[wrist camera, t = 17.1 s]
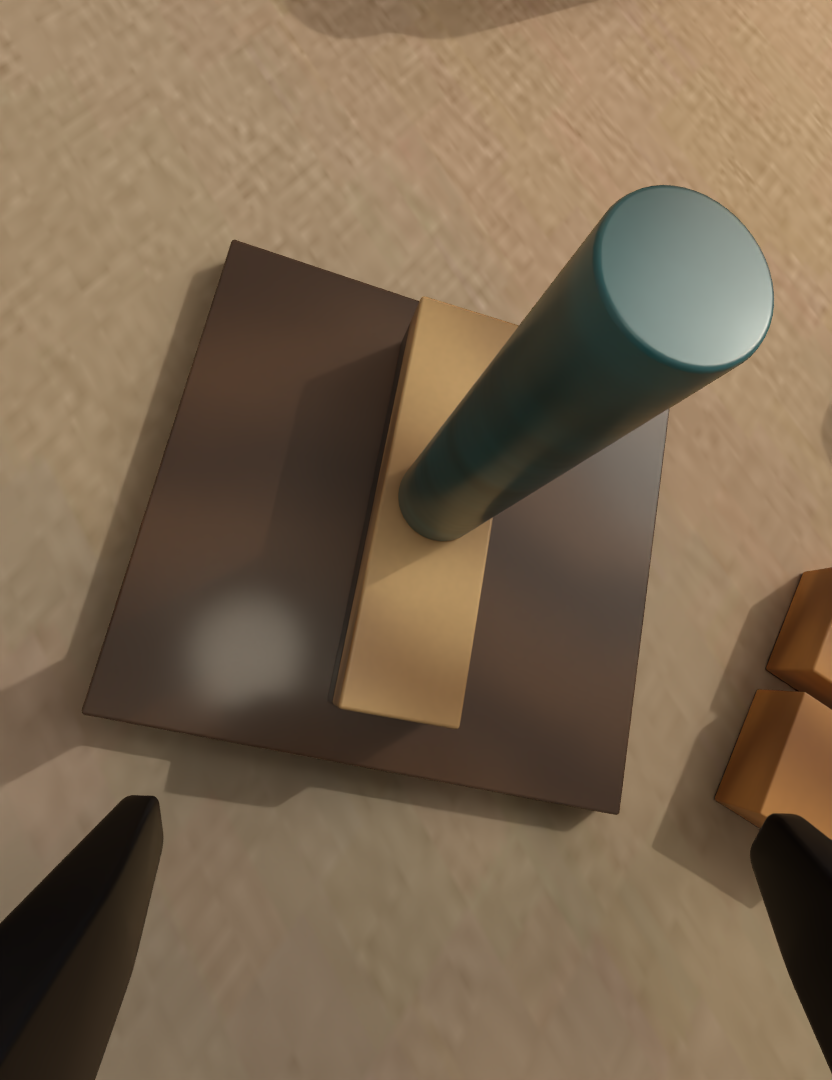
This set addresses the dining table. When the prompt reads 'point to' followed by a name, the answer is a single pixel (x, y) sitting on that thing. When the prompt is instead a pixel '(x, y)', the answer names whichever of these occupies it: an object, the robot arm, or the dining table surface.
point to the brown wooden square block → (782, 761)
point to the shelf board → (331, 552)
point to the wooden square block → (807, 639)
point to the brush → (530, 425)
